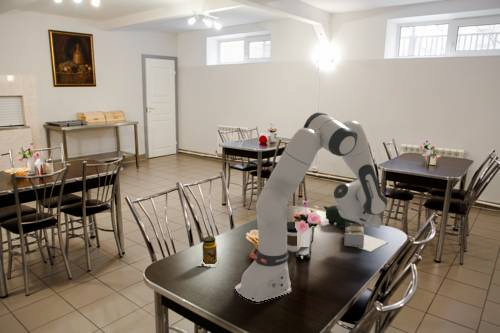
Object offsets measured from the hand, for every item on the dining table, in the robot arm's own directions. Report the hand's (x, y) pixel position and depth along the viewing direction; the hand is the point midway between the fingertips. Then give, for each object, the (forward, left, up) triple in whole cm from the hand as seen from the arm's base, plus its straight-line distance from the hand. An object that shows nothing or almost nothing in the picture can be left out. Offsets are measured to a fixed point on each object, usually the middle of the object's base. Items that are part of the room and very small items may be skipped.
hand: (365, 225), depth 175 cm
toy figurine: (+14, +23, -12) cm, 29 cm away
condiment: (-65, +37, -12) cm, 76 cm away
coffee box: (-4, +3, -8) cm, 9 cm away
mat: (+6, +2, -11) cm, 13 cm away
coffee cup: (-26, +22, -12) cm, 36 cm away
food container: (-12, +24, -12) cm, 29 cm away
